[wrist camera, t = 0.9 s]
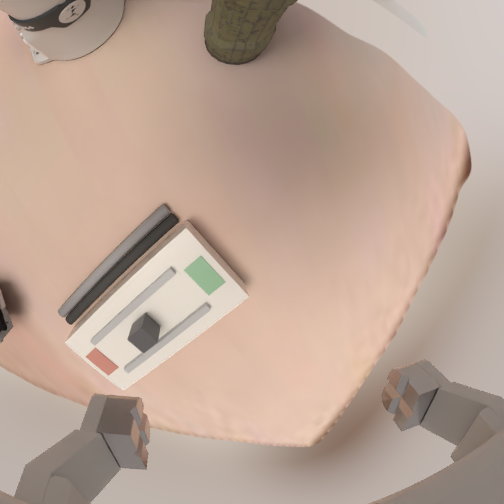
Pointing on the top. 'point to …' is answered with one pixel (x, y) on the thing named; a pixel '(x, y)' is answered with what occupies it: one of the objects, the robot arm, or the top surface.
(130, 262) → the long gray rail
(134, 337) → the breaker toggle
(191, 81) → the top surface
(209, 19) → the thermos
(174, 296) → the white slider track board
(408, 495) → the robot arm
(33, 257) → the top surface
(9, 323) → the circuit breaker
